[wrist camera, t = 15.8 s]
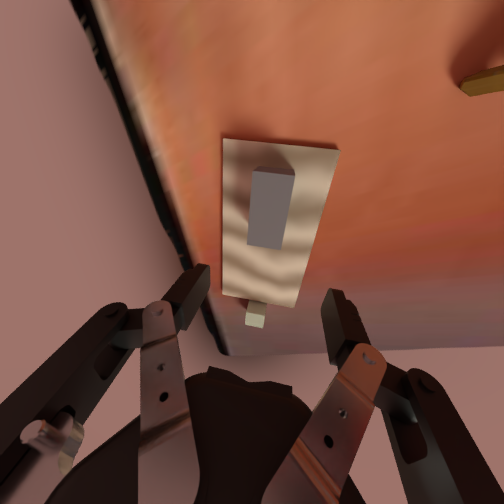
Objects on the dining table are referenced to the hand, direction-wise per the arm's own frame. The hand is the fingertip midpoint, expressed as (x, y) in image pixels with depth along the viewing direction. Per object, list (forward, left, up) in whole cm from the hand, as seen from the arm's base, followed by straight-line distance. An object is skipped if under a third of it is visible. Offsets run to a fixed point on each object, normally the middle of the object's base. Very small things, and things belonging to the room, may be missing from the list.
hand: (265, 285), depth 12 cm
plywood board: (+7, -1, -21) cm, 22 cm away
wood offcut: (+25, -1, -21) cm, 32 cm away
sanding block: (0, -1, -20) cm, 20 cm away
